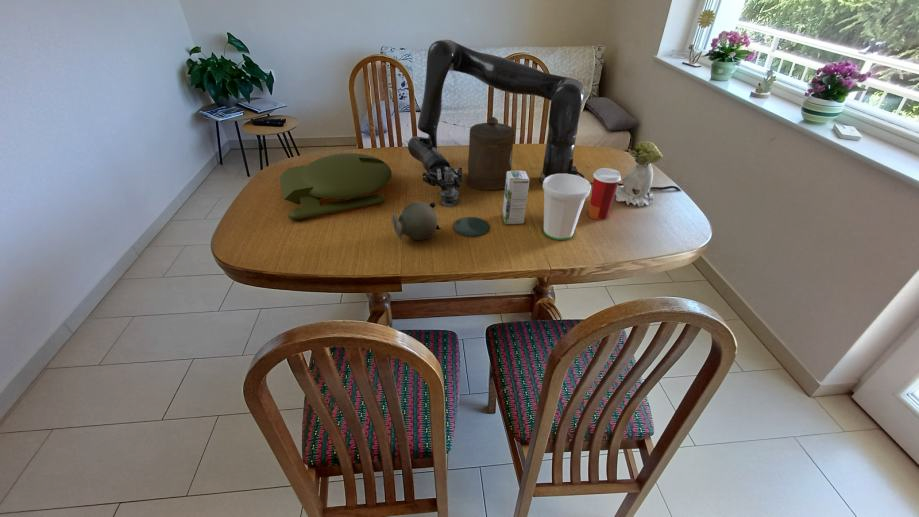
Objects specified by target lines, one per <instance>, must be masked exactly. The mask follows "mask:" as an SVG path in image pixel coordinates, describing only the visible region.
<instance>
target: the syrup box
mask: <svg viewBox="0 0 919 517" xmlns="http://www.w3.org/2000/svg"><path fill="white" fill-rule="evenodd" d="M529 187H530V178H529V175H528V173H527V171H526V170H511V171H507V174H506V184H505V187H504V194H503V204H502V219H503V223H504V224H505V225H518V224H519V225H521V224H524V223H525V218H526V210H527V201H528V196H529V195H528V194H529Z"/></svg>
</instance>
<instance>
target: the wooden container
mask: <svg viewBox="0 0 919 517" xmlns="http://www.w3.org/2000/svg"><path fill="white" fill-rule="evenodd" d="M514 140H515V129H514V128H513V127H512V126H510V125H508V124H504V123H499V120H498V118H496V117H494V116H491V117H488V118H487V120H486V122H482V123H481V122H480V123H477V124H473V125H472V126H471V127H470V129H469V141H468V155H467V156H468V158H467V161H468V162H467V183H468V184H469V185H470V186H472V187H474V188H476V189H478V190H482V191H483V190H484V191H496V190H501V189H505V184H506V174H507V171H512V167H513V166H512V164H513V151H514V150H513V149H514Z"/></svg>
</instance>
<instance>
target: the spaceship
mask: <svg viewBox="0 0 919 517" xmlns="http://www.w3.org/2000/svg"><path fill="white" fill-rule="evenodd" d="M392 176H393V174H392V169H391V167H390V166H389V165H388V164H387V163H386V162H385V161H383V160H382V159H380V158H378V157H375V156H373V155H370V154H364V153H352V152H347V153H345V152H343V153H336V154H335V153H334V154H329V155H327V156H323V157H319V158H317V159H315V160H313V161H310V162H309V163H307V164H306V165H300V166H299V165H298V166H293V167H288V168H287V169H286V170H284V171H283V172H282V173H281V174H280V175H279V176H278V177H279V182H280V188H281V192H282V196H283V200H284V201H288V202H290V203H293V204H296V205H301V207H298V208H295V209H292V210H290V211H289V212H288V215H287V216H288V218H289V219H290V220H292V221H300V220H301V221H302V220H306V219H311V218H316V217H322V216H326V215H333V214H337V213H341V212H346V211H351V210H356V209H361V208H362V209H363V208H367V207H372V206H377V205H381V204H383V203H384V202H385V196H384V195H383V194H379V193H374V192H376V191H378V190H380V189H382V188H383V187H384V186H386V185H387V184H388V183H389V182H390V181H391V179H392ZM371 193H374V194H371ZM324 199H325V200H336V201H331V202H326V203H325V202H324V203H320V201H322V200H324Z"/></svg>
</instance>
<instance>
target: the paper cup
mask: <svg viewBox="0 0 919 517" xmlns="http://www.w3.org/2000/svg"><path fill="white" fill-rule="evenodd" d="M592 177H593V181H592V183H593V184H592V186H591V194H590V195H591V196H590V201H589V209H588V216H589V217H590V218H592V219H593V220H598V221H603V220H606V219H608V216H609V213H610V211H611V207H612V204H613V202H614V198H615V196H616V194H615V193H616V190H617V187H618V184H619V183H620V181H622V176H621V172H620V171H619V170H616V169H614V168H610V167H601V168H597V169H596V170H595V171H594V173H593V174H592Z"/></svg>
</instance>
